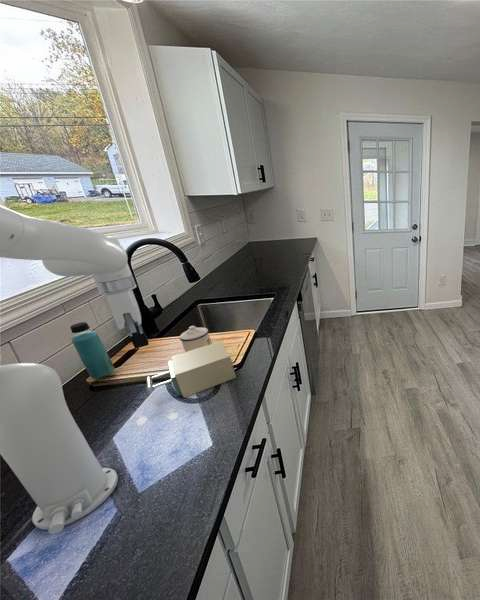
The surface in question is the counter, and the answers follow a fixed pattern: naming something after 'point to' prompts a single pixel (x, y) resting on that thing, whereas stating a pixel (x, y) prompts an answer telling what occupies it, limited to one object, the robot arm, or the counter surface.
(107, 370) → the beverage bottle
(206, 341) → the teacup with lid
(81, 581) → the counter surface
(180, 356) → the drawer cabinet
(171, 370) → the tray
